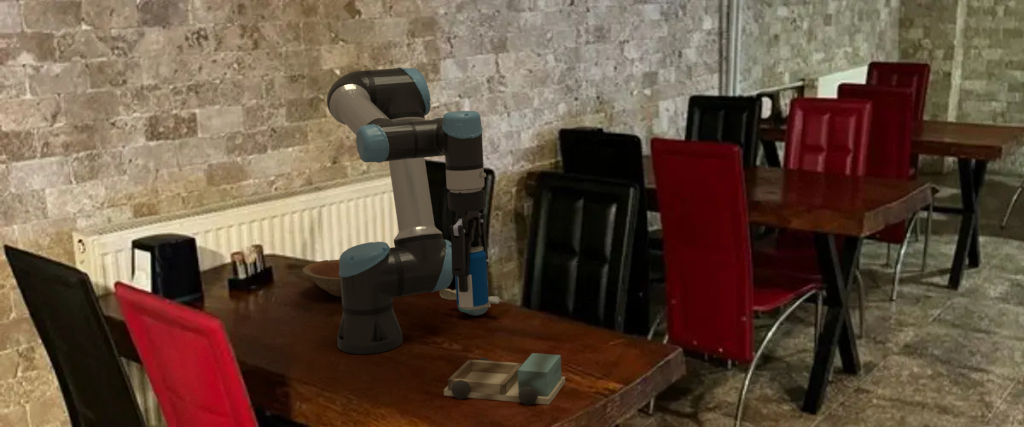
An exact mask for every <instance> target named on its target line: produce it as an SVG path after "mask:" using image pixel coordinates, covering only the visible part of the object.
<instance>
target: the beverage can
mask: <svg viewBox="0 0 1024 427" xmlns="http://www.w3.org/2000/svg"><path fill="white" fill-rule="evenodd" d="M483 249H484V248H483V247H482V246H478V247H471V253H470V269H469V275H471V276H472V293H473V307H472V308H470V307H461V308H462V309H466V310H475V309H481V308H483V307H485V305H486V304H488V302H489V299H488V297H489V281H488V268H487V267H488V266H487V263H486V253H485V251H484V250H483ZM454 280H455V281H454V282H455V290H456V305H457V307H458V306H459V294H458V277H457V276H454Z"/></svg>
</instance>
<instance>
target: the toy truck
mask: <svg viewBox="0 0 1024 427" xmlns="http://www.w3.org/2000/svg"><path fill="white" fill-rule="evenodd" d="M565 383H566V376H562V356H561V354H549V353H537V352H536V353H534V352H532V353H531V354H530V355H529V357H527V358H526V360H525V361H524V362H523V363H520V362H509V361H493V360H490V359H488V358H486V357H480V358H478V359H467V360H466V362H465V363H463V364H462V365H461V366H460V368H458V369H457V370H456V371H455V372H454V373H453V374H452V375H450V377H449V378H448V379H447V386H446V387H445V388H444V389H443V396H444V397H445V396H447V397H455V398H456V400H457V399H458V400H465V399H466V398H467V399H469V398H470V399H478V400H479V399H480V400H493V401H504V402H516V403H522V404H523V405H525V406H532V405H534V404H538V405H549V406H550V404H551V403H552V401H553V400H554V399H555V397H556V396H557V395H558V394H559V392H560V390H561V389H562V387H563V386H564V385H565Z"/></svg>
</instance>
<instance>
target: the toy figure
mask: <svg viewBox="0 0 1024 427" xmlns="http://www.w3.org/2000/svg"><path fill="white" fill-rule="evenodd" d="M486 261H488V262H489V263H488V266H490V259H488V260H486ZM439 296H440V298H442V299H445V300H449V301H452V300H453V301H455V300H456V289H453V290H452V289H451V288H446V289H443V290H439ZM488 299H489V302H488V304H486V305H485V307H483V308H481V309H475V310H466V309H462V308H461V307H459V306H458V305H457V309H458V310H459V312H461V313H466V314H467V315H469V316H475V317H476V316H478V317H479V316H481V315H483V314H485V313H486V312H487V311H488V310H489V308H491V304H492V305H498V304H500V303H501V302H502V299H500V297H499V296H492V295H491V296H488ZM456 301H457V300H456Z"/></svg>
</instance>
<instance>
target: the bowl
mask: <svg viewBox="0 0 1024 427" xmlns="http://www.w3.org/2000/svg"><path fill="white" fill-rule="evenodd" d="M302 272H303V273H304V275H306V276H308V277H311V278H312V280H313V282H315V284H316V285H317V287H319V288H321V289H322V290H324V291H326V292H327V293H329V294H330V295H333V296H335V297H341V298H342V296H341V283H340V276H339V259H329V260H328V259H324V260H320V261H317V262H316V261H315V262H312V263H310V264H308V265H305V266H304V267H303V268H302Z"/></svg>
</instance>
